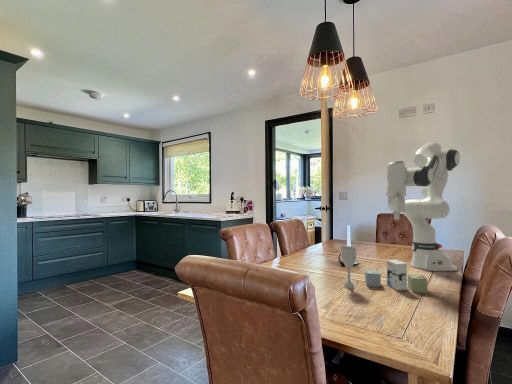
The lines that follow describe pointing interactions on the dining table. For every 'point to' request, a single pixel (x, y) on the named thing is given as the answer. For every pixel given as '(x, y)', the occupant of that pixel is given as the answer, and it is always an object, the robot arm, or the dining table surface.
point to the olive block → (417, 283)
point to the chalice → (348, 263)
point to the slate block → (372, 278)
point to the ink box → (397, 274)
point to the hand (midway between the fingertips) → (396, 219)
